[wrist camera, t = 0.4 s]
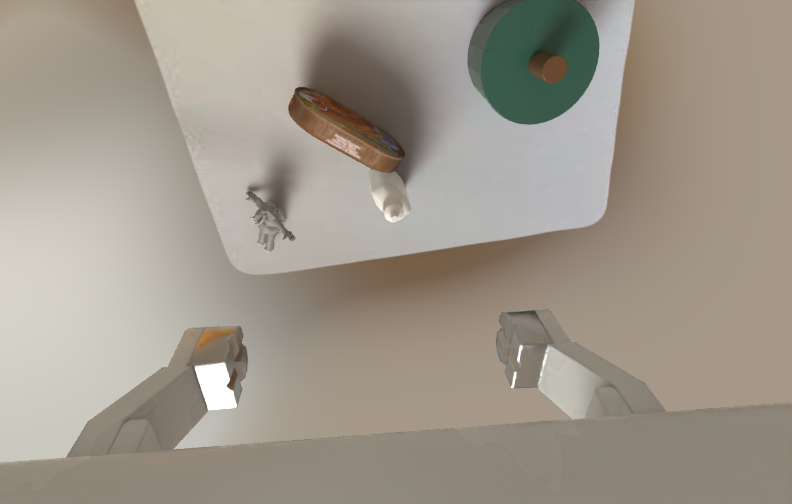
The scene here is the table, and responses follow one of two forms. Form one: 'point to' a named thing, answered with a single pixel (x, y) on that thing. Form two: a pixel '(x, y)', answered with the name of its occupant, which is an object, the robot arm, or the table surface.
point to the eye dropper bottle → (389, 194)
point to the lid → (539, 60)
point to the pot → (480, 38)
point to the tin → (345, 130)
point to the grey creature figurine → (268, 222)
